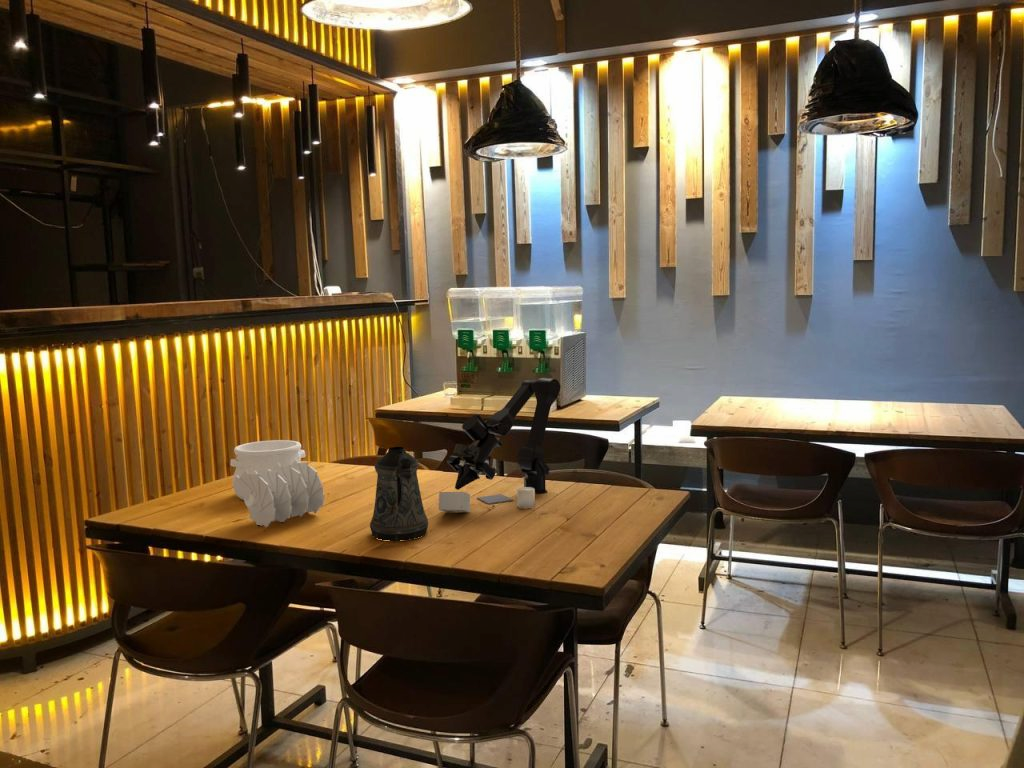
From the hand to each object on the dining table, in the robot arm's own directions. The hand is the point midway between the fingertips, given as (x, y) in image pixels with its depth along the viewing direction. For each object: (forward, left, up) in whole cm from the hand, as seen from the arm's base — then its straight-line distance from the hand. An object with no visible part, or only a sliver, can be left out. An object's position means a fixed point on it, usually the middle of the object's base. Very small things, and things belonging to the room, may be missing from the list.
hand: (456, 488), depth 260 cm
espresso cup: (-22, +4, -7) cm, 23 cm away
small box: (0, +1, -4) cm, 5 cm away
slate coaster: (-15, -8, -7) cm, 18 cm away
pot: (+56, -44, -7) cm, 72 cm away
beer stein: (+20, +21, -7) cm, 30 cm away
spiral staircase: (+52, -8, -7) cm, 53 cm away
